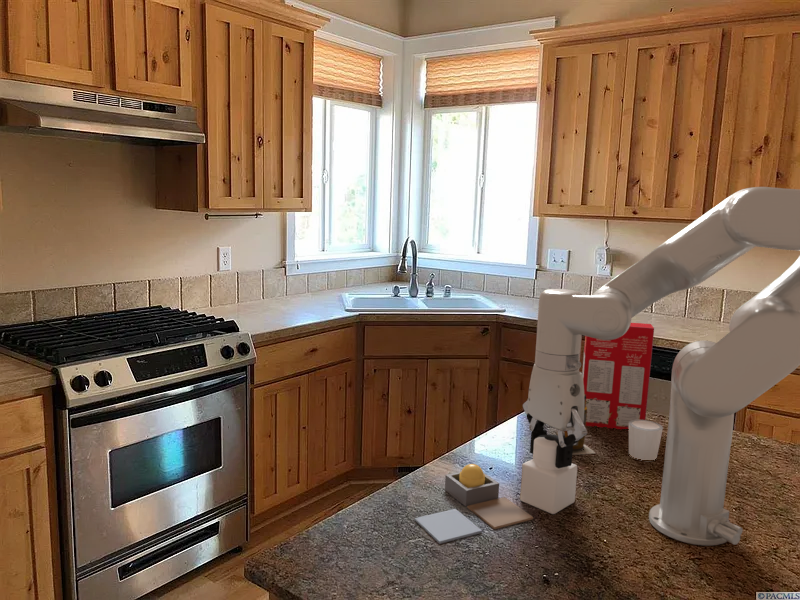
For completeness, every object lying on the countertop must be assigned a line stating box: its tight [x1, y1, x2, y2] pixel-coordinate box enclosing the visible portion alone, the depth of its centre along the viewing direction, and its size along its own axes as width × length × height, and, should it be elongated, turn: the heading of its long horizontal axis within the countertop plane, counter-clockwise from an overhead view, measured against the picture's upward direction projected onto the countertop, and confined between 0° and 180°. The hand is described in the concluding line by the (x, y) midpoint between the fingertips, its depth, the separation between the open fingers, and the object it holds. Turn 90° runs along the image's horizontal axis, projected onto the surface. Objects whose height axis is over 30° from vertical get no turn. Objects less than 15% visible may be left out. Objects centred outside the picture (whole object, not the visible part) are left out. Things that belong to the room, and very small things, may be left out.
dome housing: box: [444, 471, 500, 507], centre depth 117 cm, size 7×7×3 cm
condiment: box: [556, 394, 596, 456], centre depth 140 cm, size 7×8×12 cm
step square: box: [466, 496, 534, 530], centre depth 110 cm, size 8×8×1 cm
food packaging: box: [581, 322, 655, 430], centre depth 154 cm, size 15×5×25 cm, turn 77°
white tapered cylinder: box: [628, 419, 664, 461], centre depth 137 cm, size 7×7×7 cm
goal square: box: [414, 508, 483, 545], centre depth 106 cm, size 8×8×1 cm
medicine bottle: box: [519, 433, 578, 515], centre depth 114 cm, size 7×7×12 cm
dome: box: [459, 463, 486, 488], centre depth 117 cm, size 5×5×5 cm
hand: (550, 458), depth 114 cm, fingers closed on medicine bottle, 6 cm apart
